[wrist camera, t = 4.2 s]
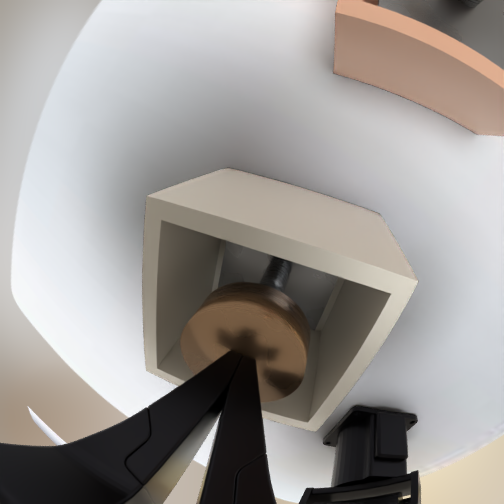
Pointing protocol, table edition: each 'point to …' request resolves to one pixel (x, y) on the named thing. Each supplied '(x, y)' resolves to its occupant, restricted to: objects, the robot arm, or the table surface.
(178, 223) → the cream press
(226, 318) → the round copper knob
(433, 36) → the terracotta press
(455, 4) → the brown and grey plunger
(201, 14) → the table surface
